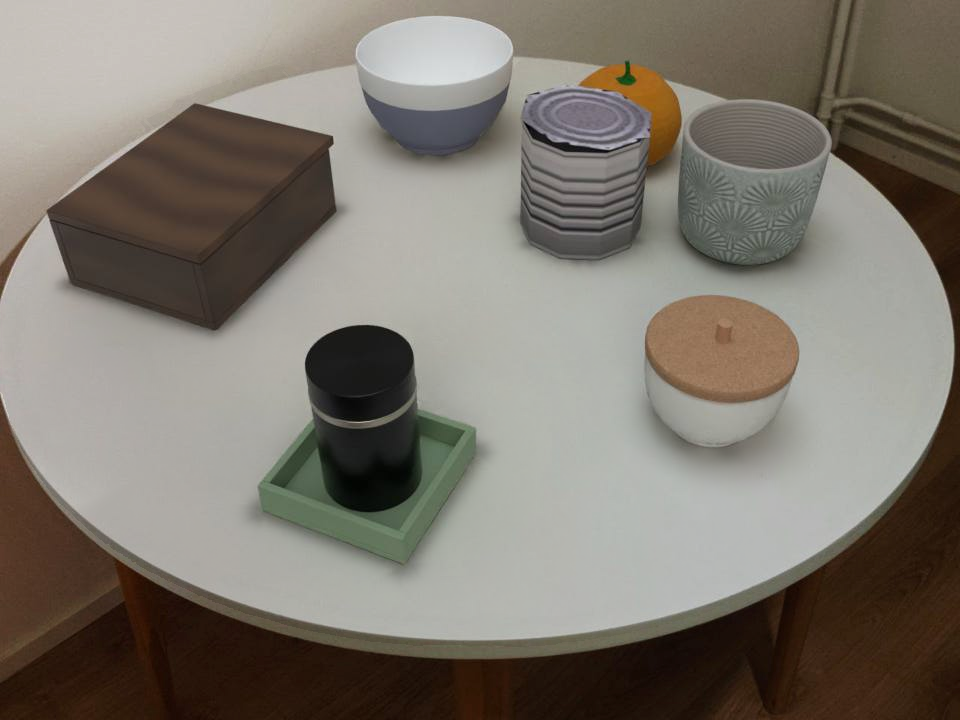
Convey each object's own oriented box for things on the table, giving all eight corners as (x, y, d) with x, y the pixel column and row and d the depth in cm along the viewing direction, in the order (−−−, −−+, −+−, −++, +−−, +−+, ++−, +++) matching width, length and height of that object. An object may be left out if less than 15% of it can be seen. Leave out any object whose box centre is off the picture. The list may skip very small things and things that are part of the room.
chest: (203, 176, 106) (190, 115, 102) (336, 211, 101) (329, 148, 97) (70, 284, 93) (48, 219, 89) (215, 330, 88) (200, 265, 83)
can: (522, 190, 103) (524, 77, 96) (639, 194, 103) (650, 81, 95) (516, 259, 95) (517, 141, 87) (643, 264, 94) (656, 145, 86)
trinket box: (807, 453, 77) (834, 356, 70) (671, 485, 75) (686, 388, 68) (740, 359, 84) (759, 265, 78) (615, 386, 82) (624, 291, 76)
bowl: (332, 145, 110) (322, 59, 104) (421, 85, 120) (417, 3, 114) (457, 189, 104) (454, 100, 97) (540, 122, 114) (543, 37, 107)
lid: (196, 111, 102) (194, 102, 102) (334, 144, 97) (333, 135, 97) (48, 219, 88) (45, 210, 88) (200, 264, 83) (198, 255, 83)
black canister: (392, 526, 71) (380, 410, 64) (303, 493, 74) (282, 377, 66) (440, 456, 76) (433, 341, 69) (354, 427, 78) (340, 312, 71)
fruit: (542, 139, 111) (545, 50, 104) (639, 115, 114) (647, 27, 108) (598, 194, 103) (605, 101, 96) (699, 166, 106) (713, 75, 100)
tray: (404, 564, 70) (402, 539, 68) (262, 510, 73) (256, 485, 72) (476, 452, 77) (476, 427, 75) (344, 408, 81) (341, 383, 79)
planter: (786, 294, 91) (811, 185, 83) (650, 256, 95) (663, 150, 88) (821, 221, 99) (847, 116, 92) (694, 189, 103) (709, 87, 96)
